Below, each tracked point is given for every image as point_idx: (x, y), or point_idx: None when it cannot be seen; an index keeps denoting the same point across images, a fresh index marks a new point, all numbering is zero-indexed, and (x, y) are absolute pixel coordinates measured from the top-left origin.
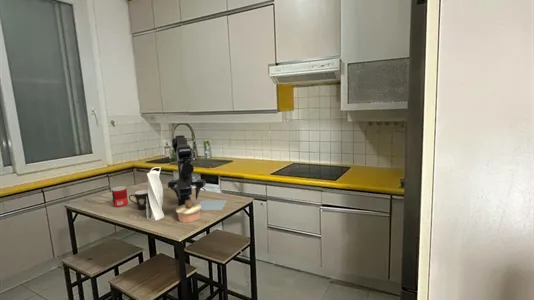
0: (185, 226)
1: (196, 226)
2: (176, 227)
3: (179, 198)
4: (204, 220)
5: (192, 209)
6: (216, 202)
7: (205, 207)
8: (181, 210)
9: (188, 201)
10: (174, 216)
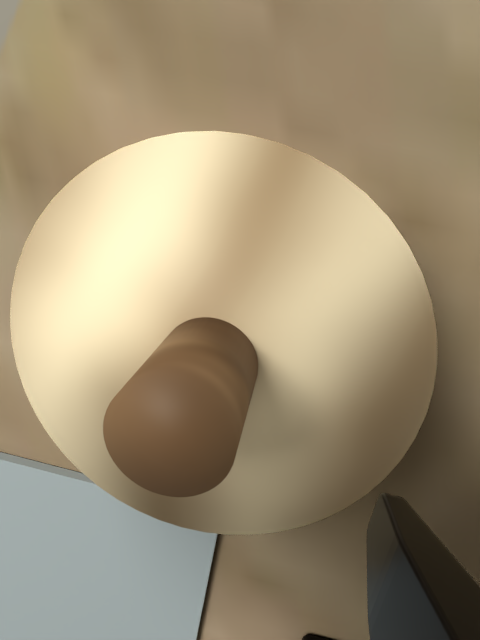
0: (253, 36)
1: (103, 12)
2: (380, 15)
3: (384, 518)
4: None
5: (124, 265)
6: (30, 625)
7: (108, 544)
8: (320, 256)
9: (144, 378)
10: (437, 412)
